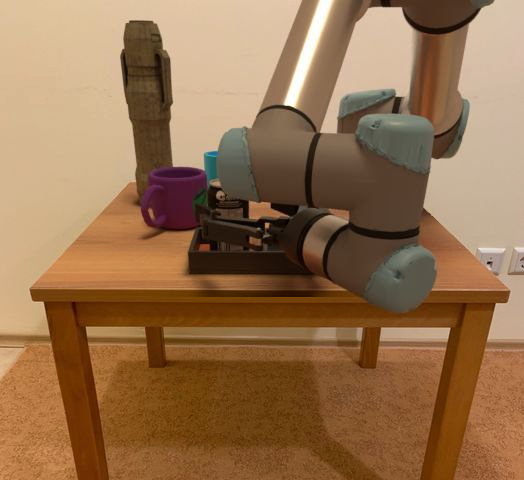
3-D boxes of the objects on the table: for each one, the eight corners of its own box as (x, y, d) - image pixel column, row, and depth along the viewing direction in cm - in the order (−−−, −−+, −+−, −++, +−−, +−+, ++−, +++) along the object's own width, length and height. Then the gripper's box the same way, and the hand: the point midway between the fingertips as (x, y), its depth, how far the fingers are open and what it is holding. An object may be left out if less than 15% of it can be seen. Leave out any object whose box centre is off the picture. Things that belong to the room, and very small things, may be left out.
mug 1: (173, 212, 110) (169, 164, 105) (219, 219, 106) (217, 169, 101) (121, 235, 97) (113, 181, 91) (171, 244, 92) (166, 188, 87)
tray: (196, 247, 91) (195, 227, 90) (330, 247, 92) (332, 228, 90) (189, 273, 81) (187, 251, 79) (341, 274, 81) (343, 252, 79)
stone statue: (169, 210, 111) (153, 19, 94) (125, 203, 115) (102, 20, 98) (190, 200, 118) (179, 21, 101) (148, 195, 122) (130, 22, 105)
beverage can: (228, 245, 90) (226, 175, 84) (257, 254, 86) (257, 181, 80) (201, 255, 85) (197, 182, 79) (231, 265, 82) (229, 188, 76)
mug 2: (199, 189, 128) (197, 154, 124) (216, 182, 134) (215, 149, 130) (241, 194, 124) (240, 159, 119) (256, 187, 130) (256, 154, 126)
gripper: (239, 293, 60) (164, 242, 75) (389, 254, 72) (299, 217, 87) (238, 231, 56) (159, 191, 72) (397, 200, 68) (301, 171, 83)
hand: (236, 205), depth 79 cm, fingers open, 13 cm apart
